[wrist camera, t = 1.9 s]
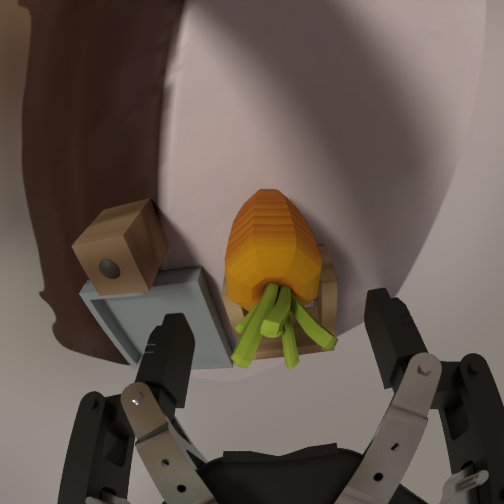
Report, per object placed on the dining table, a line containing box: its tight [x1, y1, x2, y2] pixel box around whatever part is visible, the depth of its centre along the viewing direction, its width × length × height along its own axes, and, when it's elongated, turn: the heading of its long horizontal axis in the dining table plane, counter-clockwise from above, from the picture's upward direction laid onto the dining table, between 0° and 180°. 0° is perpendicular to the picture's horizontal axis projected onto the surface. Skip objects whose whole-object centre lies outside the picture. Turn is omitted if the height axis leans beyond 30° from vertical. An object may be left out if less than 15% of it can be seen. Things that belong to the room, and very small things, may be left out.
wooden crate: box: [222, 245, 338, 360], centre depth 25 cm, size 9×9×5 cm
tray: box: [79, 266, 233, 369], centre depth 30 cm, size 14×14×2 cm
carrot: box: [225, 189, 338, 368], centre depth 16 cm, size 5×5×15 cm
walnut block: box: [72, 198, 168, 296], centre depth 21 cm, size 5×5×6 cm
